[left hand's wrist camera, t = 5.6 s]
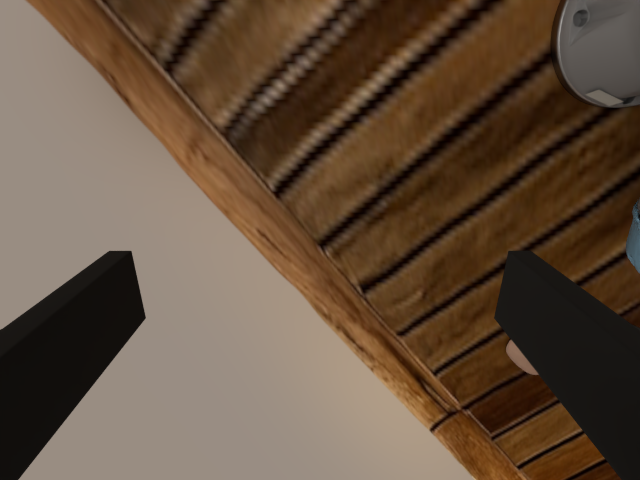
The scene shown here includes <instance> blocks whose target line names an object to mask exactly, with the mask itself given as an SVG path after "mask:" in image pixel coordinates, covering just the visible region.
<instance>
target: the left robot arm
mask: <svg viewBox="0 0 640 480" xmlns="http://www.w3.org/2000/svg"><path fill="white" fill-rule="evenodd" d="M551 55H552V61H553V66H554V69H555V72H556V74H557V76H558V78H559V80H560V82H561V84H562V85H563V86H564V88H565V89H566V90H567V91H568V92H569V93H570V94H571V95H572V96H574V97H575V98H577V99H578V100H580V101H582V102H584V103H586V104H590V105H593V106H598V107H615V108H616V107H628V106H635V105H640V0H561V1H560V4H559V6H558V9H557V12H556V15H555V19H554V22H553V28H552V34H551ZM626 252H627V256H628V258H629V260H630V261H631V263H632V264H633V265H634V266H635V268H636V270H637V271H638V272H639V273H640V198H639V200H638V201H637V203H636V204H635V205H634V207H633V221H632V225H631V228H630V232H629V235H628V238H627V242H626ZM145 318H146V317H145V312H144V308H143V303H142V298H141V294H140V289H139V284H138V280H137V275H136V270H135V266H134V261H133V256H132V252H131V251H109V252H107V253H106V254H104V255H103V256H102V257H100V258H99V259H98V260H96V261H95V262H94V263H92V264H91V265H89V266H88V267H87V268H85V269H84V270H83V271H81V272H80V273H79V274H77V275H76V276H74V277H73V278H72V279H70V280H69V281H67V282H66V283H65V284H63V285H62V286H61V287H59V288H58V289H56V290H55V291H54V292H52V293H51V294H50V295H48V296H47V297H46V298H44V299H43V300H41V301H40V302H39V303H37V304H36V305H35V306H33V307H32V308H30V309H29V310H28V311H26V312H25V313H24V314H22V315H21V316H20V317H18V318H17V319H15V320H14V321H13V322H11V323H10V324H9V325H7V326H6V327H4V328H3V329H1V330H0V480H18V479H19V478H20V477H21V475H22V474H23V473H24V472H25V470H26V469H27V468H28V467H29V465H30V464H31V463H32V462H33V460H34V459H35V458H36V456H37V455H38V454H39V453H40V451H41V450H42V449H43V448H44V446H45V445H46V444H47V443H48V441H49V440H50V439H51V437H52V436H53V435H54V434H55V432H56V431H57V430H58V429H59V427H60V426H61V425H62V424H63V422H64V421H65V420H66V419H67V417H68V416H69V415H70V413H71V412H72V411H73V410H74V408H75V407H76V406H77V405H78V403H79V402H80V401H81V399H82V398H83V397H84V396H85V394H86V393H87V392H88V391H89V389H90V388H91V387H92V386H93V384H94V383H95V382H96V380H97V379H98V378H99V377H100V375H101V374H102V373H103V372H104V370H105V369H106V368H107V366H108V365H109V364H110V363H111V361H112V360H113V359H114V358H115V356H116V355H117V354H118V353H119V351H120V350H121V349H122V348H123V346H124V345H125V344H126V342H127V341H128V340H129V339H130V337H131V336H132V335H133V334H134V332H135V331H136V330H137V329H138V327H139V326H140V325H141V323H142V322H143V321H144V320H145ZM494 318H495V320H496V321H497V322H498V323H499V325H500V326H501V327H502V329H503V330H504V331H505V332H506V334H507V335H508V336H509V337H510V339H511V340H512V341H513V342H514V344H515V345H516V346H517V348H518V349H519V350H520V351H521V353H522V354H523V355H524V356H525V358H526V359H527V360H528V361H529V363H530V364H531V365H532V367H533V368H534V369H535V370H536V372H537V373H538V374H539V375H540V377H541V378H542V379H543V380H544V382H545V383H546V384H547V386H548V387H549V388H550V389H551V391H552V392H553V393H554V394H555V396H556V397H557V398H558V399H559V401H560V402H561V403H562V405H563V406H564V407H565V408H566V410H567V411H568V412H569V413H570V415H571V416H572V417H573V419H574V420H575V421H576V422H577V424H578V425H579V426H580V427H581V429H582V430H583V431H584V432H585V434H586V435H587V436H588V438H589V439H590V440H591V441H592V443H593V444H594V445H595V446H596V448H597V449H598V450H599V451H600V453H601V454H602V455H603V457H604V458H605V459H606V460H607V462H608V463H609V464H610V465H611V467H612V468H613V469H614V470H615V472H616V473H617V474H618V476H619V477H620V478H621V479H622V480H640V328H638V327H636V326H634V325H631V324H630V323H629V322H627V321H626V320H625V319H623V318H622V317H621V316H619V315H618V314H616V313H615V312H614V311H612V310H611V309H610V308H608V307H607V306H605V305H604V304H603V303H601V302H600V301H599V300H597V299H596V298H594V297H593V296H592V295H590V294H589V293H588V292H586V291H585V290H584V289H582V288H581V287H579V286H578V285H577V284H575V283H574V282H573V281H571V280H570V279H568V278H567V277H566V276H564V275H563V274H562V273H560V272H559V271H557V270H556V269H555V268H553V267H552V266H551V265H549V264H548V263H547V262H545V261H544V260H542V259H541V258H540V257H538V256H537V255H536V254H534V253H533V252H531V251H509V252H508V256H507V261H506V266H505V270H504V275H503V280H502V284H501V289H500V294H499V298H498V303H497V308H496V312H495V317H494Z"/></svg>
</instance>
